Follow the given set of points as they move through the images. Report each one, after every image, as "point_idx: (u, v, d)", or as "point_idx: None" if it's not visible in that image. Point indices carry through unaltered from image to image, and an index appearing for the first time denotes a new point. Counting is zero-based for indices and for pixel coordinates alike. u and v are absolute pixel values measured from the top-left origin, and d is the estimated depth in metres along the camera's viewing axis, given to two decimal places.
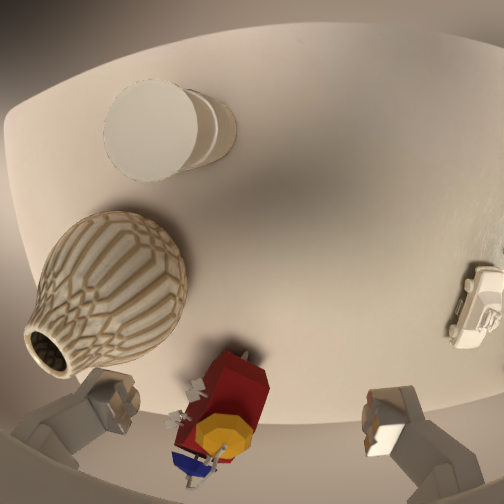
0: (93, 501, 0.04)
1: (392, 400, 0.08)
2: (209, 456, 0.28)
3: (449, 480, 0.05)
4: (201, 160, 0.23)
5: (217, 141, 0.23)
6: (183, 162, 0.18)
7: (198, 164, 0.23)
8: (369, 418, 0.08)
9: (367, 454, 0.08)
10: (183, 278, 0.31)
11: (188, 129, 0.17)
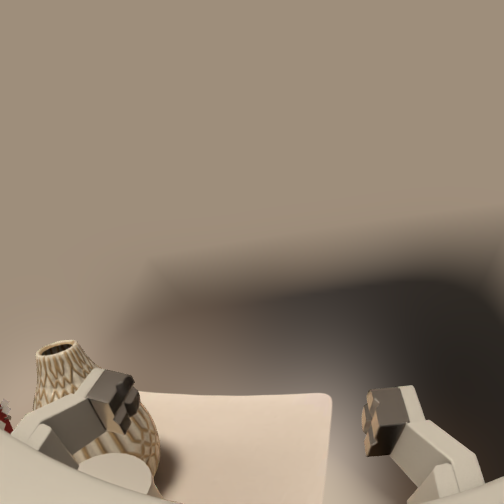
0: (94, 501, 0.04)
1: (392, 400, 0.08)
2: None
3: (449, 480, 0.05)
4: None
5: None
6: None
7: None
8: (369, 418, 0.08)
9: (367, 454, 0.08)
10: None
11: None
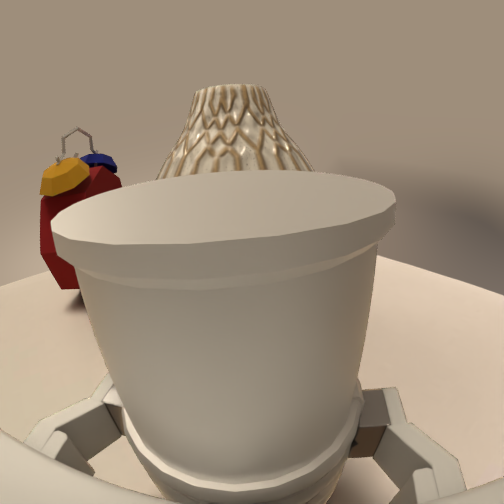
0: (93, 501, 0.04)
1: (374, 402, 0.08)
2: None
3: (428, 485, 0.05)
4: None
5: (122, 408, 0.07)
6: (91, 197, 0.07)
7: None
8: None
9: (349, 455, 0.08)
10: None
11: (80, 214, 0.05)
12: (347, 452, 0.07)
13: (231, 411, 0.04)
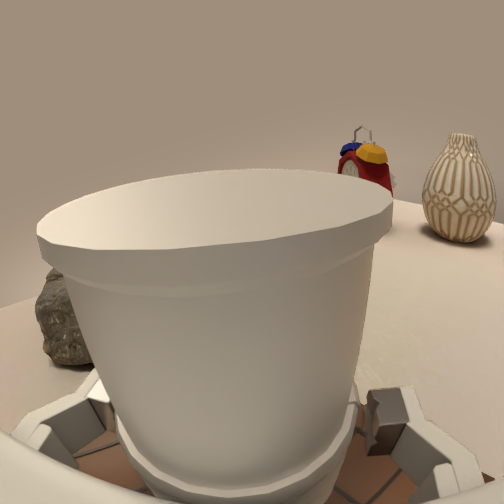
0: (93, 501, 0.04)
1: (392, 400, 0.08)
2: None
3: (449, 480, 0.05)
4: None
5: (115, 411, 0.07)
6: (81, 198, 0.06)
7: None
8: (369, 418, 0.08)
9: (367, 454, 0.08)
10: (450, 211, 0.45)
11: (67, 216, 0.05)
12: (343, 457, 0.07)
13: (220, 419, 0.04)
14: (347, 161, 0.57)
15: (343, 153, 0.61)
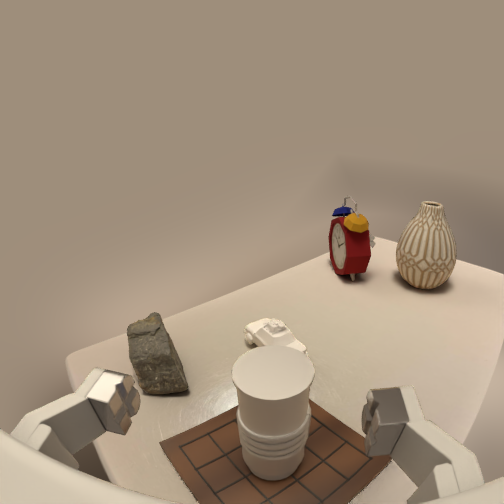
0: (93, 500, 0.04)
1: (392, 400, 0.08)
2: None
3: (449, 480, 0.05)
4: None
5: (237, 420, 0.25)
6: (233, 367, 0.24)
7: None
8: (369, 418, 0.08)
9: (367, 454, 0.08)
10: (415, 268, 0.63)
11: (242, 383, 0.23)
12: (306, 430, 0.25)
13: (277, 418, 0.22)
14: (337, 223, 0.75)
15: (335, 213, 0.79)
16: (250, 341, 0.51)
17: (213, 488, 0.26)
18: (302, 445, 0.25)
